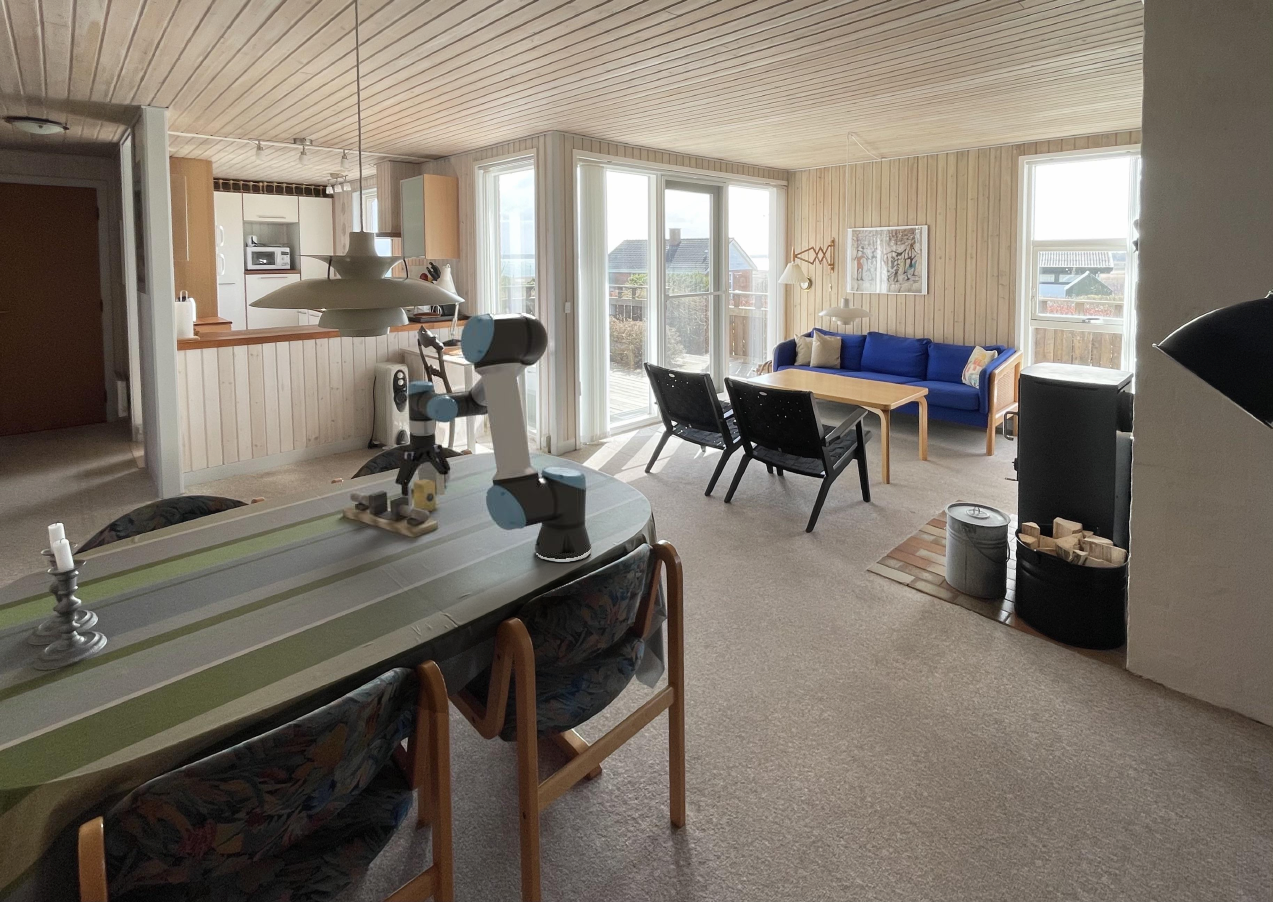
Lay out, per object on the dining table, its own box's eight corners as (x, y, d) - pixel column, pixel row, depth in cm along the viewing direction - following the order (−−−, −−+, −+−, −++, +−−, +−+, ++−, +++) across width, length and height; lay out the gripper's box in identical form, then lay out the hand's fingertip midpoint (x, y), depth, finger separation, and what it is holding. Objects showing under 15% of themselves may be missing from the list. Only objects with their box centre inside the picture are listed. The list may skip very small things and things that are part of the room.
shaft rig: (437, 528, 218) (437, 502, 216) (414, 537, 210) (413, 510, 208) (367, 508, 233) (365, 483, 231) (342, 516, 225) (341, 490, 223)
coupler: (436, 509, 234) (435, 481, 232) (425, 513, 230) (424, 485, 228) (425, 506, 236) (423, 478, 234) (414, 510, 232) (412, 482, 230)
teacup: (445, 490, 252) (445, 467, 250) (413, 489, 252) (412, 466, 250) (456, 478, 266) (455, 457, 264) (425, 477, 266) (424, 455, 264)
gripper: (443, 423, 239) (444, 487, 245) (380, 438, 218) (384, 507, 224) (460, 427, 236) (462, 491, 241) (399, 442, 215) (401, 512, 220)
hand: (424, 499), depth 233 cm, fingers open, 13 cm apart
